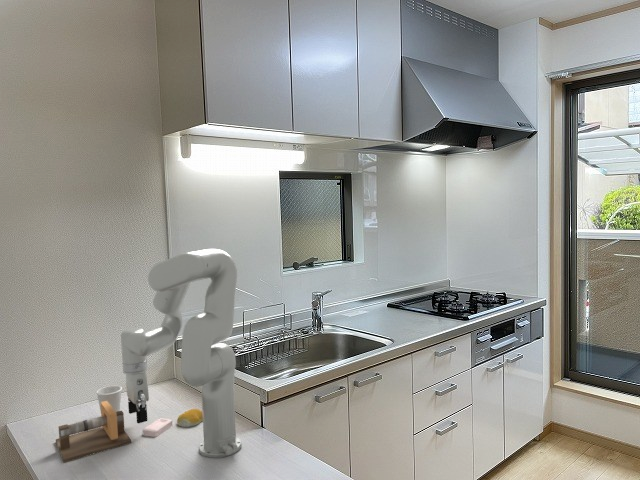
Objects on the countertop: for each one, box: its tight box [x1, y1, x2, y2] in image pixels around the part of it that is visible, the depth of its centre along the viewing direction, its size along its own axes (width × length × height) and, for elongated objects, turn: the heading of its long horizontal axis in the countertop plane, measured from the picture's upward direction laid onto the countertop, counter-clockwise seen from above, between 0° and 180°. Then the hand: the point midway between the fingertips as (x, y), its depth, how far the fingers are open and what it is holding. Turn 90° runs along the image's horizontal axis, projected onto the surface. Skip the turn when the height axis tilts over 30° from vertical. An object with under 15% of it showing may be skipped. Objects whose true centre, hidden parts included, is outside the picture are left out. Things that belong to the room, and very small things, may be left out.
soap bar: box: [142, 418, 173, 438], centre depth 163 cm, size 5×9×2 cm, turn 161°
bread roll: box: [176, 408, 203, 428], centre depth 169 cm, size 8×9×4 cm
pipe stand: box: [55, 409, 132, 463], centre depth 156 cm, size 16×19×8 cm
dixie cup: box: [95, 385, 123, 412], centre depth 175 cm, size 8×8×10 cm
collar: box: [100, 401, 118, 440], centre depth 158 cm, size 13×2×8 cm, turn 35°
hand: (138, 417), depth 164 cm, fingers open, 9 cm apart
